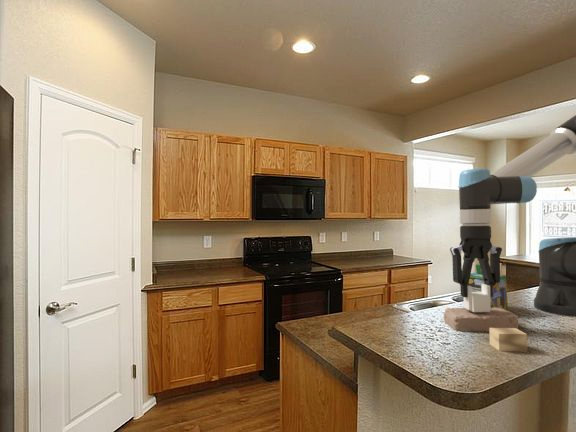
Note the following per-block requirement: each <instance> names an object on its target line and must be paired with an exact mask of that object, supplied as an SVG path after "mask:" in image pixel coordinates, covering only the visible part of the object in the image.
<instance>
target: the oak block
mask: <svg viewBox="0 0 576 432" xmlns="http://www.w3.org/2000/svg"><path fill="white" fill-rule="evenodd" d="M488 332H489V345H490V346H492V347H493V348H495V349H496V350H497V351H499V352H528V333H525V332H523V331H522V330H520V329H519V328H518V329H516V328H489V331H488Z"/></svg>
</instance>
